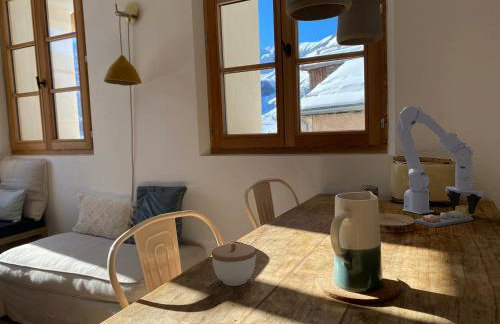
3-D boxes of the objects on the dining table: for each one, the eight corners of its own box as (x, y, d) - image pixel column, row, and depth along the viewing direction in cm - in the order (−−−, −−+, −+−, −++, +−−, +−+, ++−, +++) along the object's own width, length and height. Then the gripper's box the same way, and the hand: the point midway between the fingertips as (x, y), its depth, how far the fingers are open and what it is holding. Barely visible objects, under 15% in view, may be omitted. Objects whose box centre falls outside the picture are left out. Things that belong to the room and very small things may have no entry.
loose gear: (452, 215, 147) (452, 206, 147) (462, 213, 149) (462, 204, 149) (465, 217, 142) (465, 208, 142) (475, 216, 144) (475, 207, 144)
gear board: (414, 222, 139) (414, 214, 139) (451, 215, 146) (451, 208, 146) (434, 227, 131) (434, 219, 130) (472, 220, 138) (472, 212, 138)
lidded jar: (233, 269, 99) (231, 235, 98) (265, 278, 92) (264, 241, 91) (204, 283, 91) (202, 245, 90) (237, 293, 84) (235, 253, 83)
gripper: (440, 176, 150) (440, 209, 151) (474, 180, 136) (474, 216, 137) (452, 175, 152) (452, 207, 153) (487, 178, 139) (486, 214, 140)
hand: (463, 212), depth 146 cm, fingers open, 6 cm apart
